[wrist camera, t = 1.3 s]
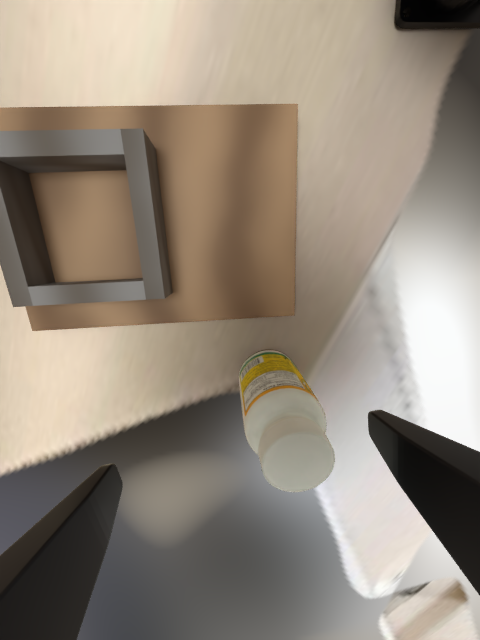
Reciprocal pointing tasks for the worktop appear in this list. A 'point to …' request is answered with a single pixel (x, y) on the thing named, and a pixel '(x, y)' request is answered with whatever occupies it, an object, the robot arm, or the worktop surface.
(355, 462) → the worktop surface
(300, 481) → the supplement bottle
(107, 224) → the socket board
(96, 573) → the robot arm
